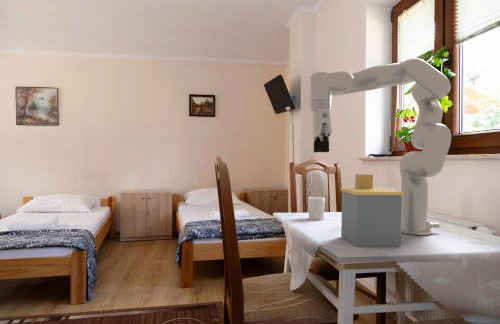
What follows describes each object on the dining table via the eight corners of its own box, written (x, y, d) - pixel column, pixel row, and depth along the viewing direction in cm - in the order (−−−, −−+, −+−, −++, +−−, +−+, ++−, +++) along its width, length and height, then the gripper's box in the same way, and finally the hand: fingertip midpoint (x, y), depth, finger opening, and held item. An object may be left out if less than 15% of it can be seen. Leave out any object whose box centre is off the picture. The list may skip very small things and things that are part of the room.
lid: (382, 190, 139) (383, 174, 139) (403, 195, 123) (404, 177, 123) (340, 190, 138) (340, 173, 138) (356, 195, 122) (356, 176, 122)
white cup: (304, 218, 178) (305, 196, 178) (319, 217, 180) (320, 196, 180) (312, 221, 170) (312, 198, 170) (327, 220, 173) (328, 198, 172)
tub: (381, 236, 139) (381, 190, 139) (400, 246, 124) (401, 195, 124) (341, 236, 138) (342, 190, 137) (356, 247, 123) (357, 194, 123)
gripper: (337, 103, 133) (337, 152, 133) (324, 109, 150) (324, 152, 150) (316, 103, 132) (316, 152, 132) (306, 109, 149) (306, 152, 150)
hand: (321, 152), depth 141 cm, fingers open, 9 cm apart
